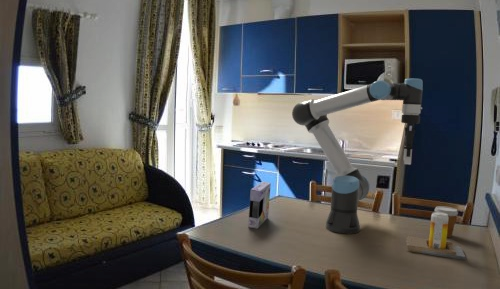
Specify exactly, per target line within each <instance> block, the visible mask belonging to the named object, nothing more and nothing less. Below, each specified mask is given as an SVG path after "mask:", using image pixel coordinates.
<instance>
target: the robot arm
mask: <svg viewBox="0 0 500 289" xmlns="http://www.w3.org/2000/svg"><path fill="white" fill-rule="evenodd" d="M423 84H424V83H423V79H421V78H411V77H410V78H405V79H404V82H401V83H397V82H395V83H394V82H387V81H385V80H380V79H379V80H376V81H374V82H372V83H369V84H366V85H363V86H360V87H357V88H352V89H351V90H347V91H344V92H340V93H337V94H334V95H330V96H327V97H323V98H321V99H316V100H315V99H309V100H306V101H300V102H298V103H297V104H295V105H294V107H293V108H292V113H291V115H292V118H293V121H294V122H295V123H296V124H297V125H300V126H302V127H303V126H305V129H306V130H307V132H308V133H309V134H313V136H314V138H315V140H316V141H317V143H318V145H319V146H320V148H321V150H322V152H323V154H324V155H325V157H326V159H327V160H328V162H329V164H330V166H331V167H332V169H333V171H334V173H335V174H336V177H334V178H333V180H332V183H331V184H332V185H331V197H330V198H331V199H330V211H329V214H328V216H327V219H326V221H325V228H326V229H327V230H329V231H331V232H335V233H338V234H339V233H340V234H357V233H359V232H360V231H361V224H360V220H359V216H358V204H359V201H361V200H363V199H365V198H366V197H367V195H369V192H370V187H371V186H370V182H369V180H368V178H367V177H366V176H364V175H362V174H361V172H360V170H359V169H358V168H357V167H354V166H353V165H352V163H351V162H350V160H349V158H348V156H347V155H346V153H345V151H344V149H343V148H342V146H341V145H340V143H339V141H338V139H337V138H336V136H335V134H334V133H333V131H332V129H331V127H330V125H329V124H330V120H329V118H328V115H329V114H333V113H337V112H340V111H341V112H342V111H344V110H348V109H351V108H355V107H359V106H362V105H365V104H369V103H373V102H377V101H402V109H401V113H402V115H401V118H400V119H401V123H402V124H406V125H405V126H406V127H404V136H405V139H404V146H403V150H404V151H403V158H402V159H403V165H409V166H410V165H412V158H413V157H412V156H413V155H412V154H413V148H414V146H413V143H414V136H415V132H416V128H415V126H414V124H415V125H418V124H420V121H421V116H420V114H421V113H422V112H421V111H422V110H423V107H422V100H423V90H424V88H423Z"/></svg>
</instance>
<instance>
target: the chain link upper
mask: <svg viewBox="0 0 500 289" xmlns="http://www.w3.org/2000/svg"><path fill="white" fill-rule="evenodd" d="M427 243H428V244H429V238H422V237H415V236H411V235H410V236H406V249H407V252H412V253H418V254H423V253H422V250H424V251H431V252H437V253H443V254H450V255H456V251H455V249H454V246H455V245H453V242H450V241H449V242H448V241H446V246H447V248H448V249H442V248H435V247H429V246H428V245H427Z"/></svg>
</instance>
